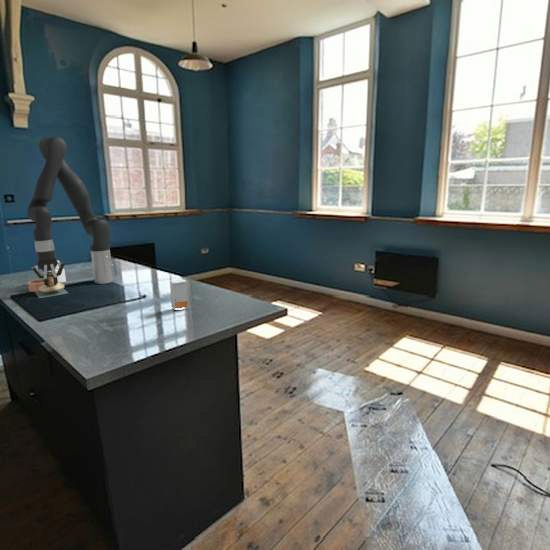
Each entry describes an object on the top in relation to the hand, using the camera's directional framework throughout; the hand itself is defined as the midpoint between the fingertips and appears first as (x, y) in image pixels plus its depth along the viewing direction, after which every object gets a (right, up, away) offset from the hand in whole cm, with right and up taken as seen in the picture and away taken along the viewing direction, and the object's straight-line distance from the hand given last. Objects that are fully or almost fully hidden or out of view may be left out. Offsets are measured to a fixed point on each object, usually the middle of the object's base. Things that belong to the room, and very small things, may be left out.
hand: (51, 285), depth 180 cm
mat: (0, -4, +1) cm, 4 cm away
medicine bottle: (-11, +1, +22) cm, 24 cm away
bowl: (-10, -3, +8) cm, 13 cm away
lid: (0, -2, 0) cm, 2 cm away
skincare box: (+67, -9, -24) cm, 72 cm away
